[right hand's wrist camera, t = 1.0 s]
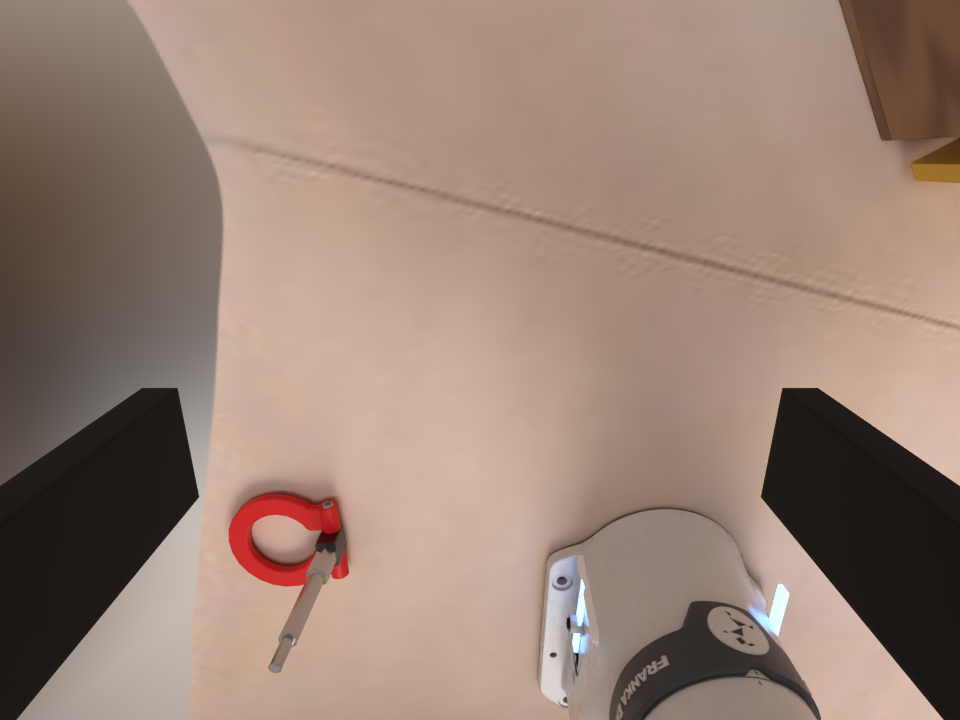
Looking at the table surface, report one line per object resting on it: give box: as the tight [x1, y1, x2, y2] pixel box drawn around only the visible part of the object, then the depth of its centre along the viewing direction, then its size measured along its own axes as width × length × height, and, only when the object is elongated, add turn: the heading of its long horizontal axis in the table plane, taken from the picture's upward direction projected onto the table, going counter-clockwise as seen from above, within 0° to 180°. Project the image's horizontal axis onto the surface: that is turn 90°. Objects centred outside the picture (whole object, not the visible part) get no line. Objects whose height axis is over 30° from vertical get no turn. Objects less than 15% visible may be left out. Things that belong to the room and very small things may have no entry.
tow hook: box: [229, 494, 349, 673], centre depth 40 cm, size 8×13×9 cm
